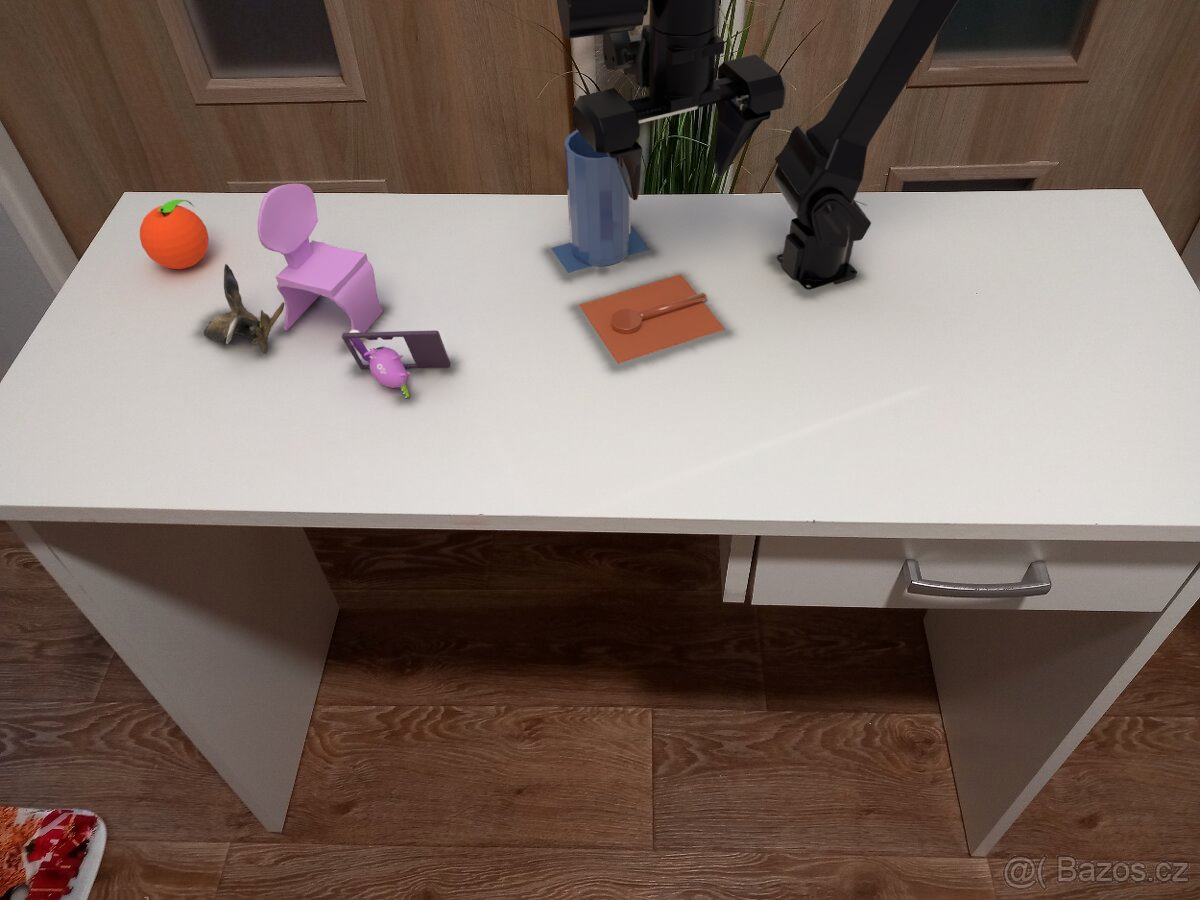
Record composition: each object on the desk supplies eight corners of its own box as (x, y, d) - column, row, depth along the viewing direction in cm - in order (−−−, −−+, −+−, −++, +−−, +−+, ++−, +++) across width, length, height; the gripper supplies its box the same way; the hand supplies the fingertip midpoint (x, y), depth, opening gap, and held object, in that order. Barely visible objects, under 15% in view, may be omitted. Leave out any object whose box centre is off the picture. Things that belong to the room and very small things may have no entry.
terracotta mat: (680, 277, 98) (680, 274, 98) (724, 332, 92) (725, 329, 92) (579, 308, 95) (578, 304, 95) (617, 367, 89) (617, 363, 89)
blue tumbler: (641, 242, 102) (641, 135, 92) (610, 273, 98) (607, 166, 88) (591, 224, 104) (587, 119, 95) (560, 254, 101) (552, 148, 91)
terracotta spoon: (699, 290, 96) (699, 283, 95) (713, 308, 94) (713, 301, 93) (605, 319, 93) (605, 312, 93) (618, 337, 91) (618, 331, 91)
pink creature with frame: (438, 323, 84) (342, 325, 84) (435, 373, 82) (337, 375, 82) (451, 357, 90) (361, 359, 90) (448, 404, 88) (357, 406, 88)
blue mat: (631, 229, 104) (631, 225, 104) (650, 252, 101) (650, 248, 101) (551, 251, 102) (551, 247, 102) (568, 276, 99) (567, 272, 99)
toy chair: (350, 356, 91) (310, 231, 80) (277, 336, 94) (229, 212, 82) (392, 306, 96) (360, 182, 85) (322, 288, 99) (282, 165, 87)
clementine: (182, 235, 106) (158, 182, 101) (234, 243, 105) (212, 190, 99) (141, 276, 101) (114, 222, 96) (195, 285, 100) (171, 231, 94)
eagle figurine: (306, 314, 94) (246, 272, 96) (267, 293, 87) (203, 248, 89) (266, 375, 94) (207, 331, 96) (223, 359, 87) (160, 312, 89)
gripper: (734, -34, 82) (721, 125, 94) (544, 6, 78) (555, 168, 89) (799, 13, 75) (777, 178, 87) (595, 60, 71) (600, 227, 83)
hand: (676, 186), depth 87 cm, fingers open, 9 cm apart
